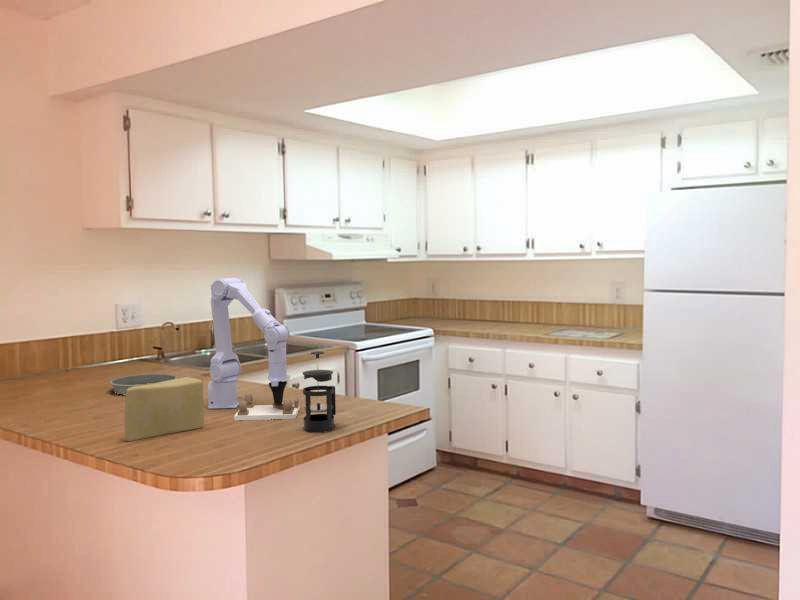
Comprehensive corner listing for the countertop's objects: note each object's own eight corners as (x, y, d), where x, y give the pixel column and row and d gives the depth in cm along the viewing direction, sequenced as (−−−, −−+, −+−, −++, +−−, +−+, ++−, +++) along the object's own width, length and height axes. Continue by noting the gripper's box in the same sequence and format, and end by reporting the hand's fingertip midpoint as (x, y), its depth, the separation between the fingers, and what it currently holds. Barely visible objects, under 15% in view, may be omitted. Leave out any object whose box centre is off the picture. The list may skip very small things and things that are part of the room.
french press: (317, 435, 188) (315, 355, 187) (294, 430, 194) (292, 352, 193) (345, 426, 198) (344, 350, 196) (322, 421, 203) (321, 347, 202)
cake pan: (164, 397, 243) (163, 384, 243) (98, 397, 244) (97, 385, 243) (186, 383, 268) (186, 372, 267) (126, 384, 268) (126, 373, 268)
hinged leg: (294, 409, 213) (294, 397, 212) (288, 411, 211) (288, 398, 211) (278, 405, 218) (278, 394, 218) (272, 407, 217) (272, 395, 216)
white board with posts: (234, 420, 206) (233, 403, 206) (242, 410, 220) (241, 393, 219) (295, 419, 207) (295, 401, 207) (299, 408, 221) (299, 392, 220)
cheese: (134, 444, 181) (132, 391, 180) (118, 438, 188) (116, 386, 187) (205, 428, 198) (204, 378, 197) (188, 423, 204) (186, 375, 203)
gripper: (287, 366, 207) (288, 408, 208) (292, 359, 221) (293, 399, 222) (264, 366, 207) (265, 409, 207) (271, 359, 221) (272, 399, 222)
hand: (278, 404), depth 215 cm, fingers closed, pressing on hinged leg
